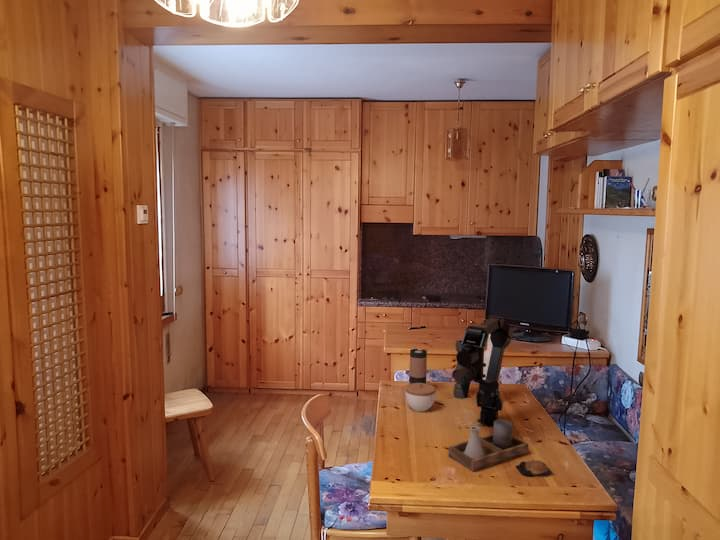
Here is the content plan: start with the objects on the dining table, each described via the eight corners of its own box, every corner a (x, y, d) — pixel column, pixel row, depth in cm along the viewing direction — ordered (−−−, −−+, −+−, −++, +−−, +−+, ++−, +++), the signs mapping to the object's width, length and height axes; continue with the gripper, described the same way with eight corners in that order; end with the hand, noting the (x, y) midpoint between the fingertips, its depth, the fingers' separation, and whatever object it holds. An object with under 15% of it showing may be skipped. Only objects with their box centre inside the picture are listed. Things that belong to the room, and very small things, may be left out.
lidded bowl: (439, 407, 217) (440, 381, 216) (427, 416, 207) (427, 390, 206) (413, 401, 224) (413, 376, 223) (399, 410, 214) (400, 384, 212)
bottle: (477, 401, 224) (479, 334, 221) (484, 396, 230) (486, 331, 227) (495, 405, 219) (497, 337, 216) (501, 400, 226) (504, 333, 222)
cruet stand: (501, 440, 186) (502, 413, 185) (527, 453, 176) (529, 425, 175) (448, 456, 173) (449, 427, 172) (473, 471, 163) (474, 441, 162)
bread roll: (542, 464, 169) (543, 454, 169) (556, 477, 161) (557, 466, 161) (512, 467, 168) (513, 456, 167) (525, 480, 159) (525, 468, 159)
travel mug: (415, 397, 228) (416, 353, 226) (405, 392, 235) (406, 349, 233) (429, 395, 232) (430, 351, 230) (419, 389, 239) (420, 347, 236)
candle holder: (451, 393, 234) (453, 340, 231) (465, 393, 234) (467, 339, 231) (455, 398, 227) (457, 343, 225) (469, 398, 228) (471, 343, 225)
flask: (485, 462, 167) (486, 433, 166) (463, 460, 168) (464, 431, 167) (484, 452, 174) (485, 424, 173) (462, 450, 175) (463, 422, 174)
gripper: (441, 357, 190) (440, 397, 192) (477, 370, 174) (475, 414, 176) (464, 353, 196) (463, 392, 198) (500, 365, 180) (499, 408, 182)
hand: (474, 401), depth 188 cm, fingers open, 9 cm apart
